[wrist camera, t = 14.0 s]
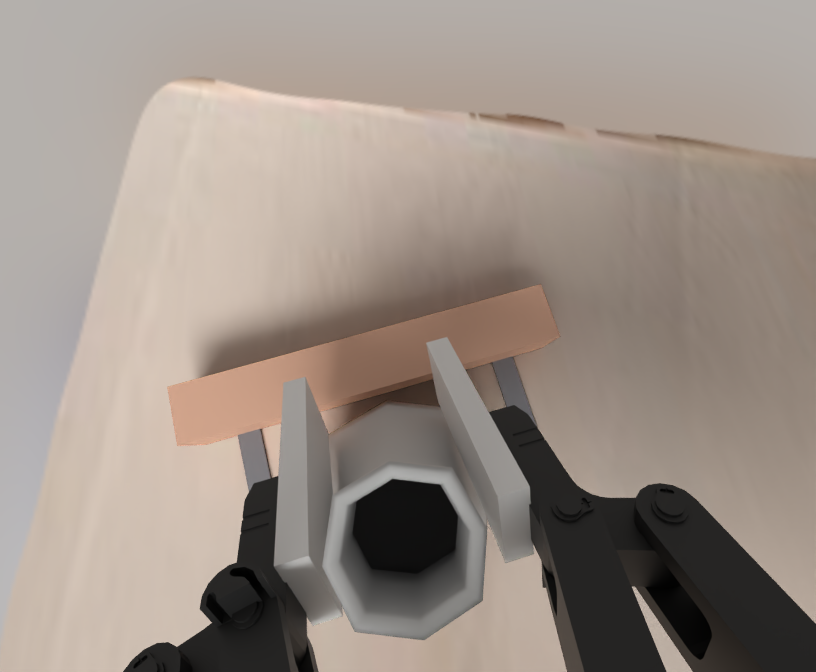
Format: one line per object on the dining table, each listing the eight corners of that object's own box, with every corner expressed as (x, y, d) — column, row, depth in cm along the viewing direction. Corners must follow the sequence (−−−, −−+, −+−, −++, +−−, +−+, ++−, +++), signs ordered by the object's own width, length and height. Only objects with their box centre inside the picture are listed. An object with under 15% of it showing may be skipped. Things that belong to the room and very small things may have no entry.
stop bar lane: (524, 301, 21) (540, 284, 19) (739, 894, 16) (799, 975, 14) (195, 392, 20) (167, 386, 18) (318, 1065, 15) (302, 1186, 13)
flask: (512, 561, 17) (650, 719, 8) (332, 604, 17) (237, 828, 7) (468, 383, 19) (537, 326, 9) (303, 418, 19) (192, 398, 9)
